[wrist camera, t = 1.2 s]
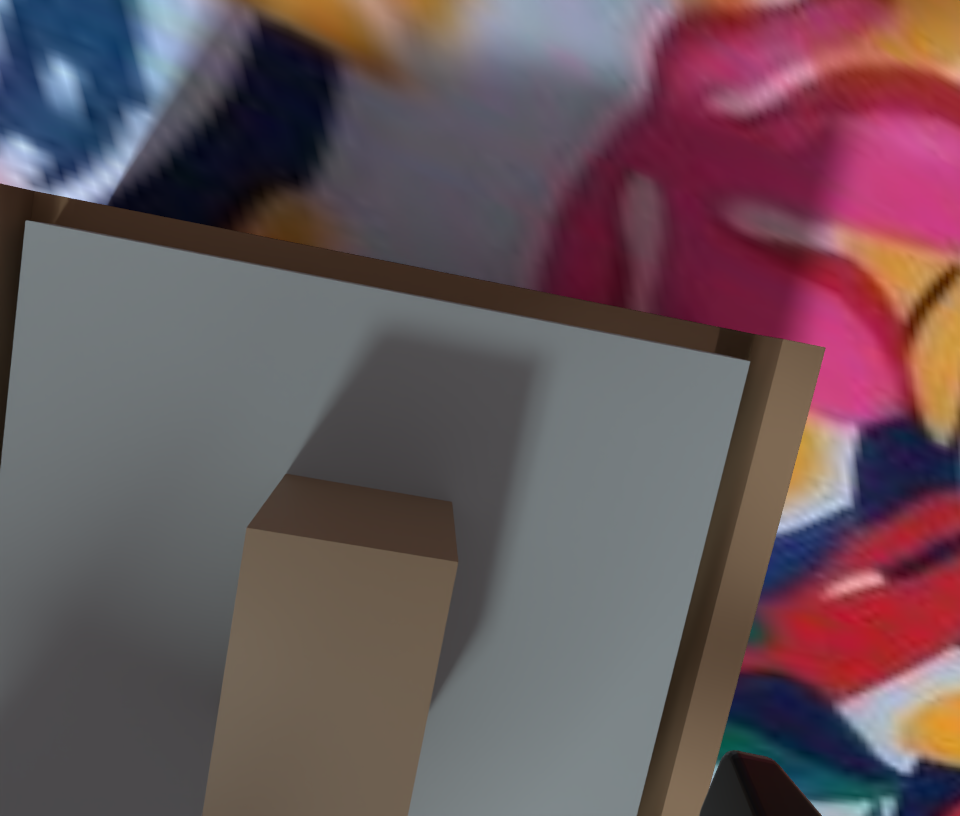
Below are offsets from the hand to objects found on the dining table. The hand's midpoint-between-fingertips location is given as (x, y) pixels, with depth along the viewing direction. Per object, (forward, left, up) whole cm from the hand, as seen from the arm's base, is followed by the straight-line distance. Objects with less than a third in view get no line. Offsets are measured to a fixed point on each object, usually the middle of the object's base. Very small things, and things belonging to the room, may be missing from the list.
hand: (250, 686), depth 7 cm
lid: (-2, -1, -8) cm, 8 cm away
